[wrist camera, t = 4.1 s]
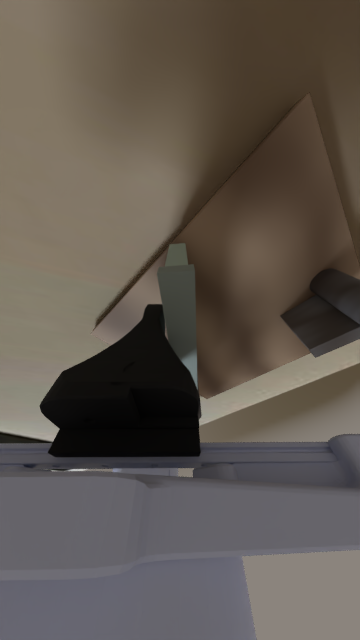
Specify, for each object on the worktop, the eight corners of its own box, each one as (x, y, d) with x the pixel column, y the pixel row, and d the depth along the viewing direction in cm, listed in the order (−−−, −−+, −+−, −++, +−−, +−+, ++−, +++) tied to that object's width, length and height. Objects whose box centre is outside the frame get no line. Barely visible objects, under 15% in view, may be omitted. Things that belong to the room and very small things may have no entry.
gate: (193, 360, 17) (198, 412, 13) (180, 361, 17) (180, 413, 13) (188, 241, 10) (194, 270, 6) (166, 242, 10) (156, 273, 6)
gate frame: (206, 392, 24) (213, 445, 19) (94, 327, 16) (54, 387, 11) (366, 317, 15) (461, 376, 10) (295, 103, 8) (545, -106, 2)
